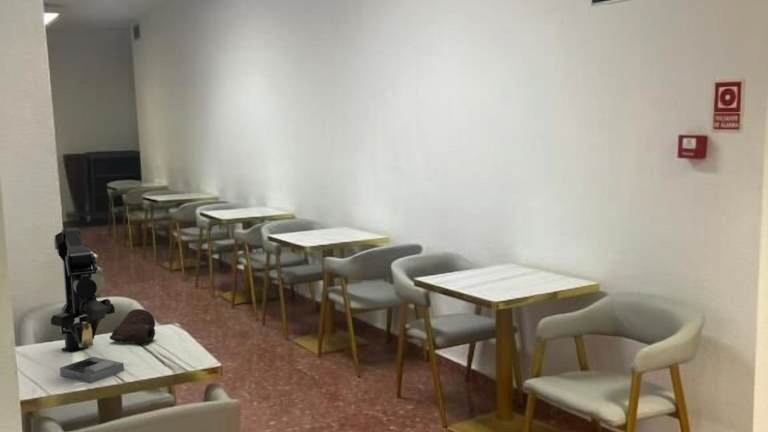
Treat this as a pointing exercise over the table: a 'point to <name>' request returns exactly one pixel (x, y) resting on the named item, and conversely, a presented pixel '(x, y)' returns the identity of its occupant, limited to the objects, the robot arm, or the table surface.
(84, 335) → the tan rectangular block
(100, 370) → the metal square frame
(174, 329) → the table surface
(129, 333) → the dark brown rounded lump
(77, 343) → the robot arm
